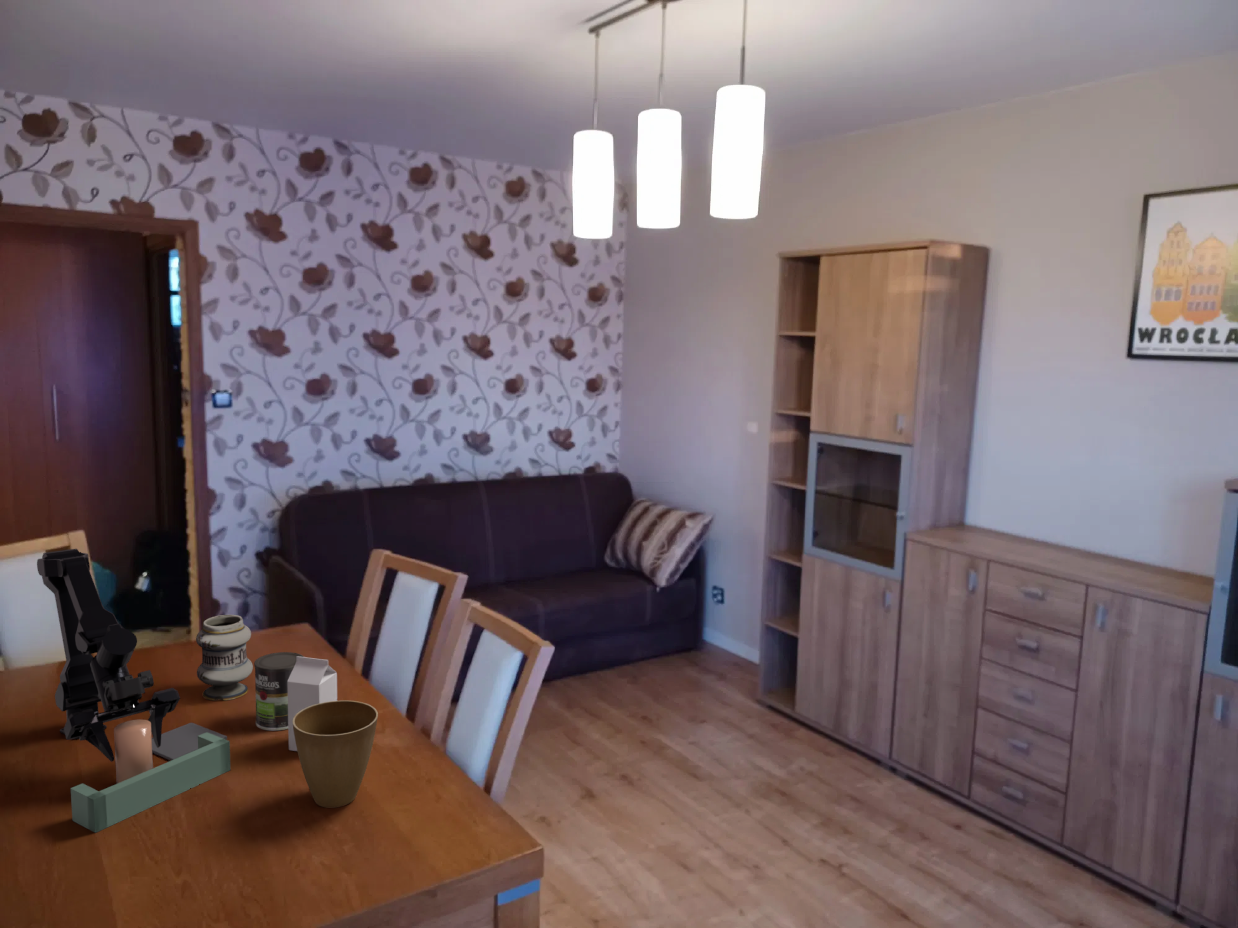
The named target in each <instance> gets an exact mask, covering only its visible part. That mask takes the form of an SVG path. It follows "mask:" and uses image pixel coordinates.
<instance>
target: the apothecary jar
mask: <svg viewBox="0 0 1238 928" xmlns="http://www.w3.org/2000/svg"><path fill="white" fill-rule="evenodd" d="M251 637H252V631H251V629H250V628H249V627H248V626H247V625H246V624H244V619H243V617H242V616H241V615H237V614H220V615H216V616H212V617H209V618H207V619H206V620H204V621H203V626H202V629H201V630H199V632H198V633H197V634H196V637H195V638H196V639H195V641H196V644H197V645H198V647H200V648H201V653H202V654H201V655H202V656H201V658H202V659H201V663H200V665H198V668H197V669H196V676H197V678H198V680H199V681H201V682H202V683H203V684H205V685H209V687H207V688H205V690H203V692H202V697H203V698H204V699H206V700H208V701H212V702H213V701H214V702H215V701H231V700H235V699H238V698H241V697H243V696H245V695H246V694H247V693H248V692H249V687H248V686H247V685H246V684H243V683H241V682H242V681H245V679H247V678H248V677H249V676H251V674H252V672H253V670H254V666H253V665H254V663H253V662H252V661H251V660H250V659H249V658H248V655H247V642H248V641H250V639H251Z"/></svg>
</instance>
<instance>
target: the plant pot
mask: <svg viewBox="0 0 1238 928" xmlns="http://www.w3.org/2000/svg"><path fill="white" fill-rule="evenodd" d="M378 717H379V713H378V710H377V709H376V708H375V706H373V705H371V704H369V703H366V702H362V701H357V700H347V699H346V700H337V701H330V702H323V703H319V704H315V705H312V706H309V707H307V708H304V709H302V710H301V711H299V712H298V713H297V714H296V715H295V716H294V718H293V721H292V722H293V730H294V736H295V742H296V747H297V751H296V752H297V754H298V755H297V756H298V758H299V759H298V760H299V763H300V767H301V770H302V772H303V776H304V778H305V781H306V784H307V787H308V789H309V792H310V793H311V796H312V798H313V801H314V803H315V804H316V805H318V806H320V807H323V808H328V809H329V808H331V809H332V808H334V809H335V808H340V807H344V806H346V805H348V804H350V803H352V802H353V801H354V800H355V799H356V797H357V794H358V792H359V790H360V787H361V785H362V782H363V779H364V776H365V774H366V770H367V766H368V763H369V760H370V756H371V752H372V749H373V746H374V740H375V735H376V730H377V724H378V723H377V722H378Z"/></svg>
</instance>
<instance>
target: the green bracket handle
mask: <svg viewBox="0 0 1238 928" xmlns="http://www.w3.org/2000/svg"><path fill="white" fill-rule="evenodd" d="M230 743H231V742H230V740H228V739H226V740H225V739H223V738H220V737H218V736H215V735H213V734H210V733H208V732H206V733H204V734H201V735H199V736H198V749H197V750H195V751H193V752H190V753H188V754H186V755H183V756H181V757H179V758H176V759H174V760H172V761H170V760H168V761H167V762H165V763H162V764H160V765H158V766H156V767H153V769H151V770H148V771H146V772H143V773H141V774H139V775H136V776H134V777H132V778H129V779H127V780H125V781H122V782H120V783H118V784H117V783H116V784H114V785H111V786H108V787H107V788H104V789H101V790H99V791H98V790H96V789H95V788H93V787H91V786H89V785H88V784H87V785H86V784H85V783H80V784H77V785H75V786H73V787H70V799H71V802H70V803H71V817H72V820H71V821H73V822H74V823H76V824H77V825H80V826H82V827H84V828H86V829H88V830H89V831H90V832H93V833H95V834H97V833H99V832H100V831H103V830H104V829H107V828H110V827H111V826H113V825H115V824H117V823H118V824H119V823H120V822H122V821H124V820H126V819H129V818H130V817H134V816H135V815H138V814H139V813H142V812H143V811H146V810H148V809H150V808H152V807H155V806H156V805H159V804H160V803H162V802H165V801H167V800H169V799H172V798H173V797H176V796H178V795H180V794H182V793H184V792H186V791H189V790H191V789H194V788H195V787H197V786H199V784H200V785H202V784H204V783H206V782H208V781H210V780H213V779H215V778H216V777H217V778H218V777H219V776H220V775H223V774H225V773H228V772H229V771H231V744H230ZM190 788H191V789H190Z"/></svg>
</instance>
